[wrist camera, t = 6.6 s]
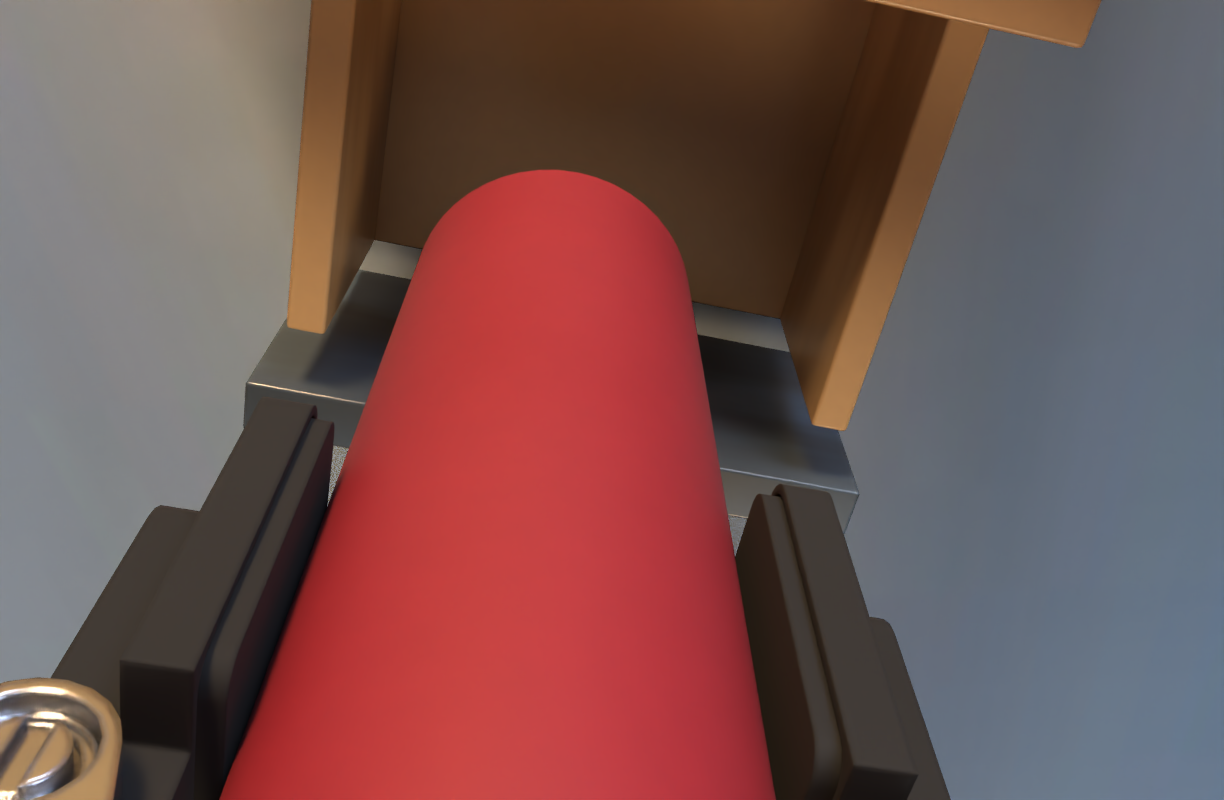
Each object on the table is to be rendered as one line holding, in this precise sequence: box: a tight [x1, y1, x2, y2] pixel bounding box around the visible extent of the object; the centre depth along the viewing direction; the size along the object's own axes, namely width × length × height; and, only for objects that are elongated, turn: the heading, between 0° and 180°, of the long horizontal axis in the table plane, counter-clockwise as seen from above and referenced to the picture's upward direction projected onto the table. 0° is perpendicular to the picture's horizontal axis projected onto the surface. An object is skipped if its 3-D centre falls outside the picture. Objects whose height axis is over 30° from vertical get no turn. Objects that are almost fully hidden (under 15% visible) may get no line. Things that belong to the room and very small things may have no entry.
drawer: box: [243, 0, 989, 534], centre depth 26 cm, size 18×13×7 cm
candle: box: [219, 170, 776, 800], centre depth 12 cm, size 4×4×15 cm
